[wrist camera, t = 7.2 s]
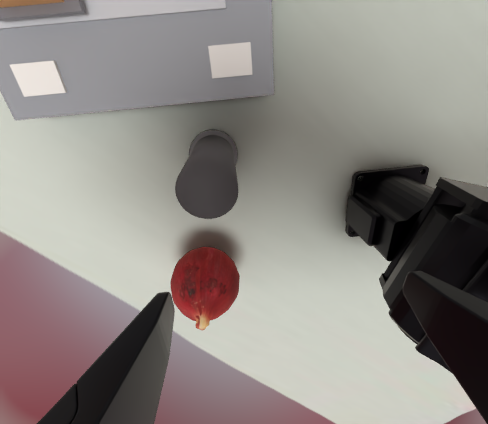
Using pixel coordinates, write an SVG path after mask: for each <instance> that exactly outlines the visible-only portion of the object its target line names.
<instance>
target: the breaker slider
mask: <svg viewBox="0 0 488 424" xmlns="http://www.w3.org/2000/svg"><path fill="white" fill-rule="evenodd" d="M75 14H86V12H85V8H84V5H83V2H82V0H0V21H9V20H20V19H31V18H42V17H53V16H64V15H75Z"/></svg>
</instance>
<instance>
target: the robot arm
mask: <svg viewBox="0 0 488 424" xmlns="http://www.w3.org/2000/svg"><path fill="white" fill-rule="evenodd" d="M422 169H423V170H422ZM421 170H422V172H421V173H420V171H421ZM428 172H429V168H428V167H427V166H424V165H416V166H407V167H398V168H388V169H379V170H370V171H360V172H357V173H355V174H354V176H353V180H352V187H351V195H350V196H349V198H348V206H347V214H346V222H347V226H346V233H347V234H348V236H350V237H355V236H360V237H361V238H362V239H363V240H364V241H365V242H366V244H368V245H369V246H374V247H375V248H376V249H377V250H378V251H379V252H380V253H381V254H382V255H383V257H384V258H385V259H386V260H387V261H391V263H390V265H389V266H388V268H387V269H386V271H385V273H383V274H382V275H381V276H380V278H379V281H380V284H381V286H382V289H383V297H384V299H385V300H386V302H387V304H388V306H389V308H390V311H389V315H390V317H391V319H392V320H393V321H394V322H395V323H396V324H397V325H398V327H399V328H400V329H401V331H402V332H403V333H404V334H405V335H406V336H407V337H409V338H410V339H411V340H412V341H413V342H415V343H416V344H417V346H416V347H415V348H416V350H417V351H418V352H419V353H421V354H423V355H425V356H426V357H428V358H430V359H432V360H434V361H435V362H437V363H439V364H440V365H442V366H443V367H444V368H446V369H447V370H449V371H450V372H451V373H453V374H454V376H455V377H456V379H457V380H458V382H459V383H460V385H461V386H462V388H463V389H464V391H465V392H466V394H467V395H468V397H469V398H470V399H471V401H472V402H473V404H474V405H475V407H476V408H477V410H478V411H479V413H480V414H481V416H482V417H483V418H484V420H485V421H486V423H487V424H488V187H484V186H479V185H475V184H470V183H465V182H460V181H456V180H451V179H446V178H441V177H440V179H439V180H438V182H437V184H436V186H437V187H436V189H433V188H431V187H429V186H427V185H425V183H426V179H427V175H428ZM359 176H361V178H360V179H359V180H358V177H359ZM352 230H353V232H351V231H352ZM350 232H351V233H350ZM173 321H174V305H173V301H172V297H171V294H170V293H169V292H162V293H158V294H157V295H156V296H155V297H154V298H153V299H152V300H151V301H150V302H149V303H148V304H147V306H146V307H145V308H144V309H143V310H142V311H141V312H140V313H139V314H138V315H137V316H136V317H135V319H134V320H133V321H132V322H131V323H130V324H129V325H128V326H127V327H126V328H125V330H124V331H123V332H122V333H121V334H120V335H119V336H118V337H117V338H116V339H115V341H113V343H112V344H111V345H110V346H109V347H108V348H107V349H106V350H105V352H103V353H102V355H101V356H100V357H99V358H98V359H97V360H96V361H95V362H94V363H93V364H92V365H91V367H90V368H89V369H88V370H87V371H86V372H85V373H84V374H83V375H82V376H81V377H80V378H79V380H78V381H77V384H74V385H73V386H72V387H71V388H70V389H69V390H68V391H67V392H66V394H65V395H64V396H63V397H62V398H61V399H60V400H59V401H58V402H57V403H56V404H55V405H54V406H53V407H52V408H51V410H50V411H49V412H48V413H47V414H46V415H45V416H44V417H43V418H42V419H41V420H40V421H39V422H38V423H37V424H154V421H155V417H156V413H157V408H158V404H159V399H160V395H161V390H162V387H163V382H164V378H165V373H166V369H167V365H168V360H169V354H170V346H171V338H172V330H173Z"/></svg>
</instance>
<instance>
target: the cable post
mask: <svg viewBox="0 0 488 424" xmlns="http://www.w3.org/2000/svg"><path fill="white" fill-rule="evenodd" d="M237 158H238V153H237V148H236V145H235V143H234V141H233V140H232V138H231V137H230V136H229V135H227V134H226V133H224V132H222V131H219V130H207V131H204V132H202V133H200V134H199V135H197V136H196V138H195V139H194V140H193V142H192V144H191V146H190V150H189V158H188V159H187V161H186V163H185V165H184V167H183V169H182V170H181V172H180V174H179V176H178V178H177V181H176V187H175V190H176V196H177V199H178V201H179V203H180V204H181V206H182V207H183V208H184V209H185V210H186V211H187V212H189V213H190V214H192V215H194V216H196V217H199V218H205V219H212V218H217V217H220V216H222V215H224V214H226V213H227V212H229V211H230V210H231V209H232V207H233V206H234V205H235V203H236V200H237V197H238V183H237V175H236V167H235V166H236V163H237Z"/></svg>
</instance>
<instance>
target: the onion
mask: <svg viewBox="0 0 488 424" xmlns="http://www.w3.org/2000/svg"><path fill="white" fill-rule="evenodd" d="M171 291H172V298H173V301H174V303H175V305H176V306H177V307H178V309H179V310H180V311H181V312H182V314H184V315H185V316H186V317H188V318H190V319H191V320H194V321H196V328H197V329H200V330H205V328H206V327H207V326H208V325H209V321H210V320H213V319H216V318H218V317H219V316H221V315H222V314H223V313H225V312H226V311H227V310H228V309H229V308H230V307H231V305H232V304H233V302H234V301H235V299H236V298H237V295H238V292H239V273H238V271H237V268H236V266H235V263H234V261H233V260H232V259H231V258H230V257H229V256H228V255H227V254H226V253H225V252H223V251H221V250H218V249H216V248H212V247H200V248H197V249H193V250H191V251H189V252H188V253H187V254H186V255H184V256H183V257H182V258H181V259H180V260H179V261H178V263H177V264H176V266H175V269H174V272H173V275H172V278H171Z"/></svg>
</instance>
